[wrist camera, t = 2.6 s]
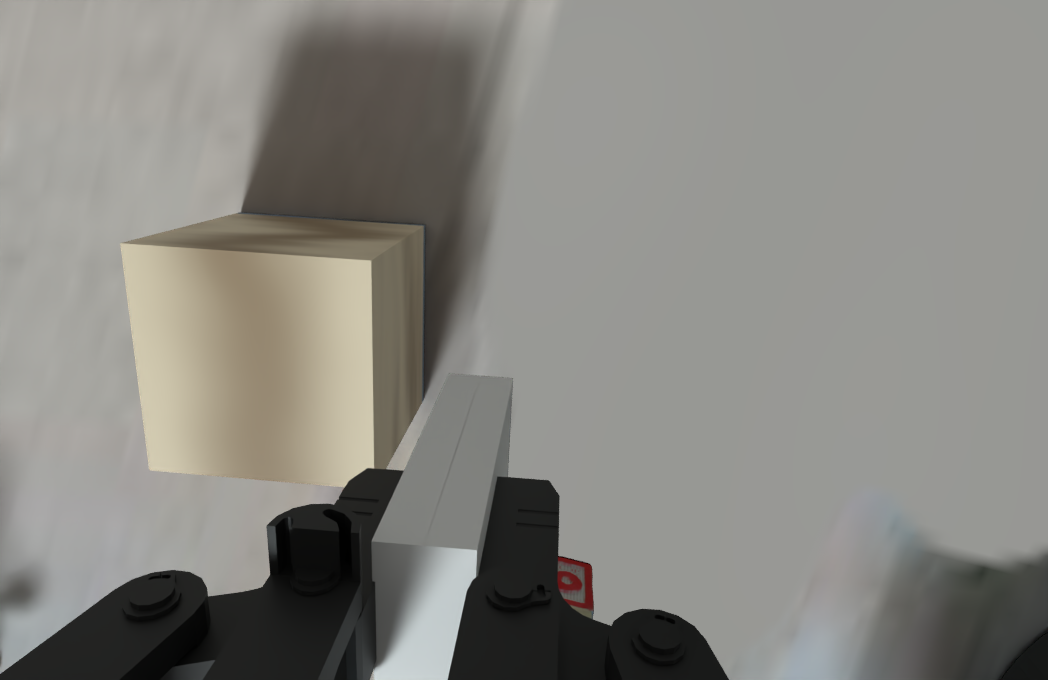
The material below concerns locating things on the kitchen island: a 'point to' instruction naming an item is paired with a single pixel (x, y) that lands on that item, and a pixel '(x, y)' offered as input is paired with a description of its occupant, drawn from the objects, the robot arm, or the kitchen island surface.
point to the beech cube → (277, 345)
